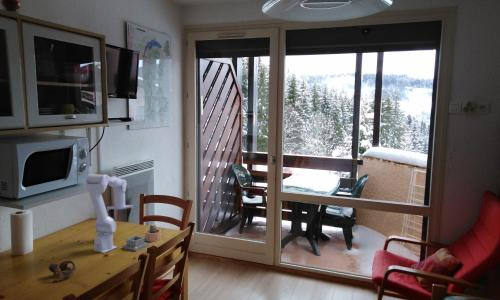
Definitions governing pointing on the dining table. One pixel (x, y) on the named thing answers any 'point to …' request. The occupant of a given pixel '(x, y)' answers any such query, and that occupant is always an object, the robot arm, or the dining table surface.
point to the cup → (153, 235)
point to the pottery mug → (62, 269)
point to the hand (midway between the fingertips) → (120, 221)
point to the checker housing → (135, 243)
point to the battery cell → (153, 229)
